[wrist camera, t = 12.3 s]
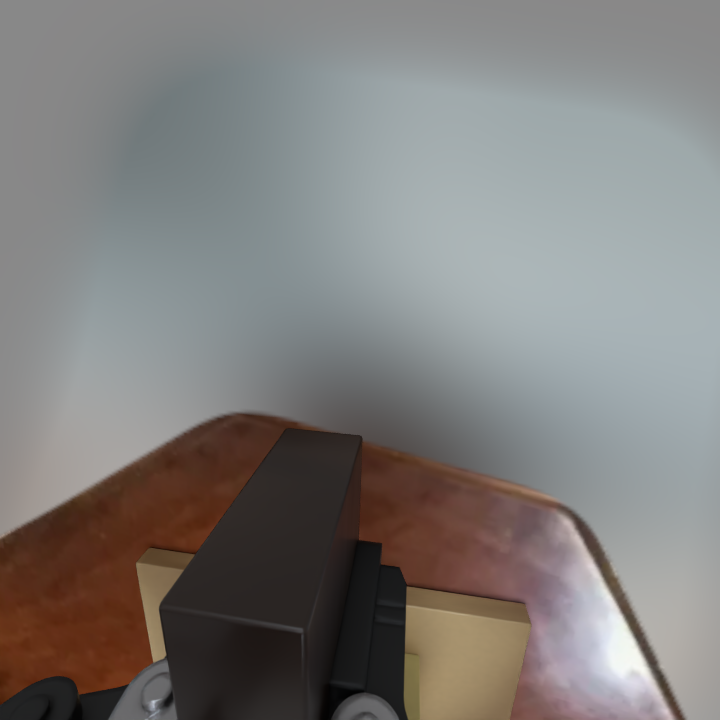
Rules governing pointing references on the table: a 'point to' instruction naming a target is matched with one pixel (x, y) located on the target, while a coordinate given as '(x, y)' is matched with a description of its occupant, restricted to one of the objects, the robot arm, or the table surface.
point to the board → (412, 642)
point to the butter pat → (412, 686)
